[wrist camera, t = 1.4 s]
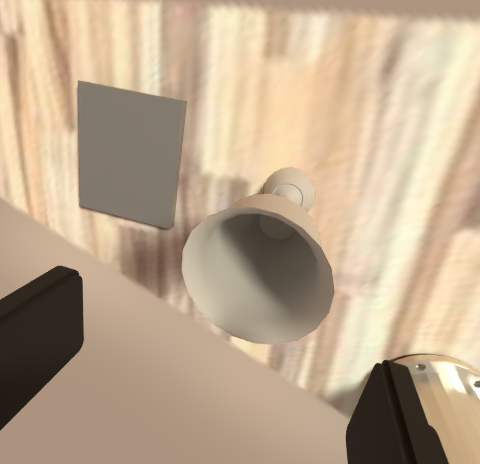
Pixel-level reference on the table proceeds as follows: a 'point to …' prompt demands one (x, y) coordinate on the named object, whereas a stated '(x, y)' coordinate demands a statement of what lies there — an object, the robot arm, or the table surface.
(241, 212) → the chalice
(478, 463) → the robot arm
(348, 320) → the table surface
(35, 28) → the table surface
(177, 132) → the slate board
